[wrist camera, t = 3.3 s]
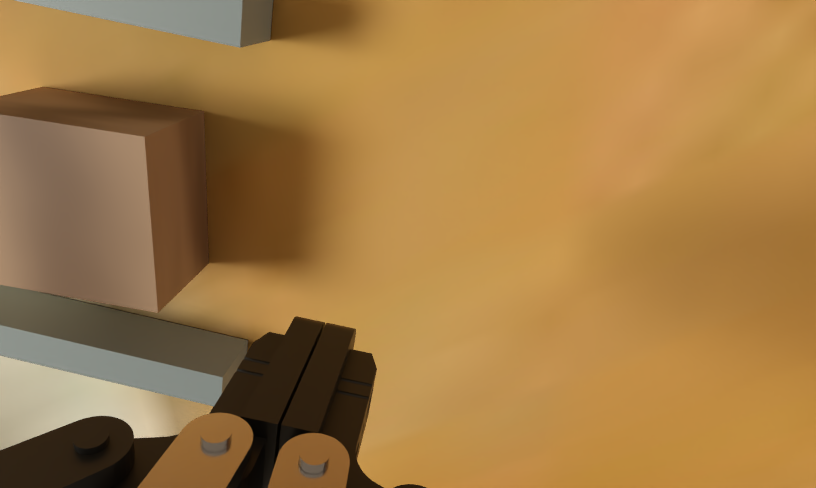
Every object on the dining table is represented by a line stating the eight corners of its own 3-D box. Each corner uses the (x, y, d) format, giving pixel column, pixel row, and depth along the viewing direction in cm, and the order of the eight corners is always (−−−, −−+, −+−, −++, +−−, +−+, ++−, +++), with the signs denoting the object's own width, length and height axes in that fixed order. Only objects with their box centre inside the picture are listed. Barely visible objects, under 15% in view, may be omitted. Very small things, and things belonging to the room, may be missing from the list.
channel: (273, -10, 18) (243, -9, 16) (246, 369, 24) (220, 407, 22) (-55, -77, 19) (-130, -86, 16) (2, 312, 25) (-47, 344, 23)
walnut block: (206, 110, 20) (144, 136, 17) (210, 261, 23) (157, 312, 19) (46, 86, 21) (-49, 106, 17) (68, 236, 23) (-10, 283, 20)
